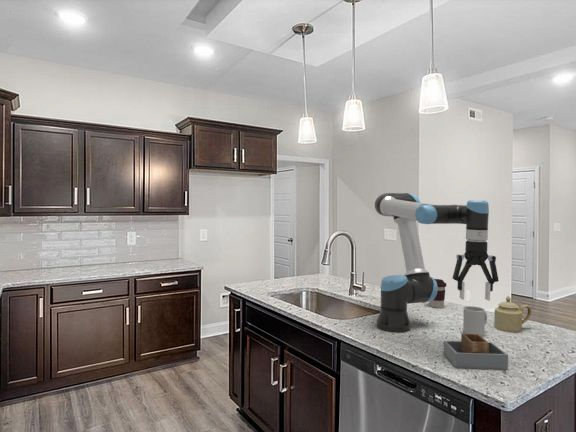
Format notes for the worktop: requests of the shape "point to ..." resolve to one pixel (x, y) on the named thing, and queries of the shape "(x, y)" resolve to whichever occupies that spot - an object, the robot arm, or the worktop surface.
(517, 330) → the beige teapot
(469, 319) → the mug
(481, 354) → the grey crate
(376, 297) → the worktop surface
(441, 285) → the coffee cup
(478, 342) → the walnut crate
